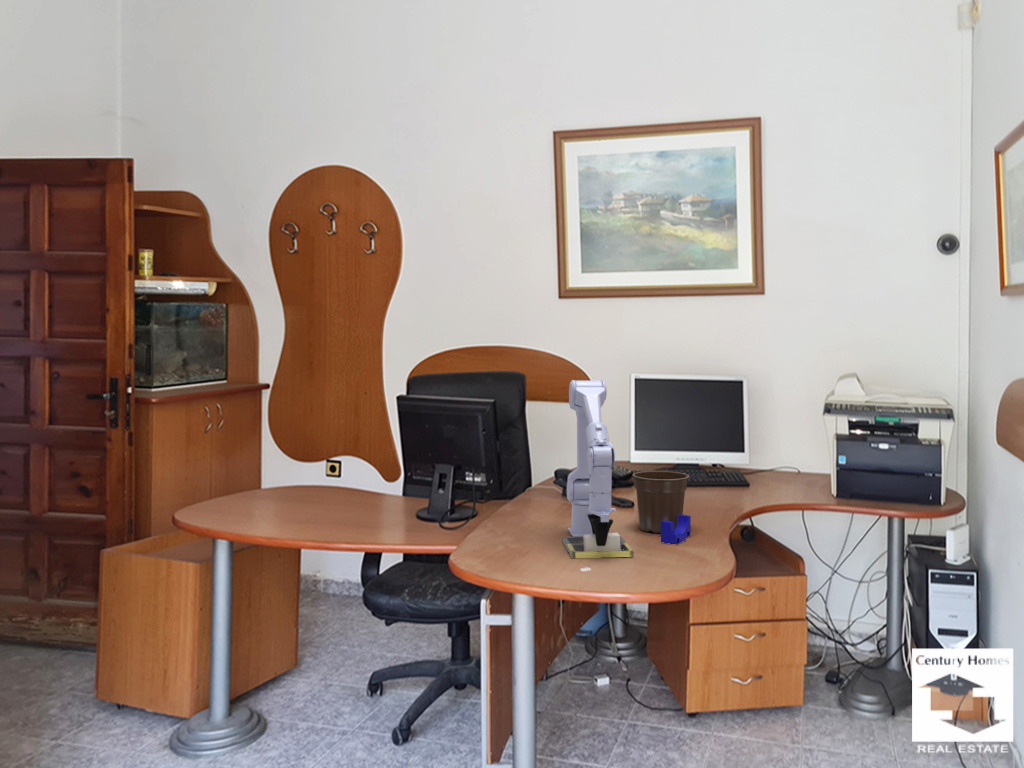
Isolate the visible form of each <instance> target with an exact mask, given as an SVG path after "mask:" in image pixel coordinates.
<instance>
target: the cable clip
mask: <svg viewBox="0 0 1024 768" xmlns="http://www.w3.org/2000/svg"><path fill="white" fill-rule="evenodd" d="M691 519H692V516H691V515H688V514H683V515H682V514H681V515H679V518H678V524H677V527H676V529H675V530H674V522H670V521H661V533H660V543H661V542H664V543H663V544H667V543H670V544H669V545H672V544H677V545H679V544H681V543H680V542H682V541H684V542H686V541H685V540H687V538H689V537H688V536H690V537H691V527H692V526H691V522H692V520H691ZM686 537H687V538H686ZM678 543H679V544H678ZM682 543H683V542H682Z"/></svg>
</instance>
